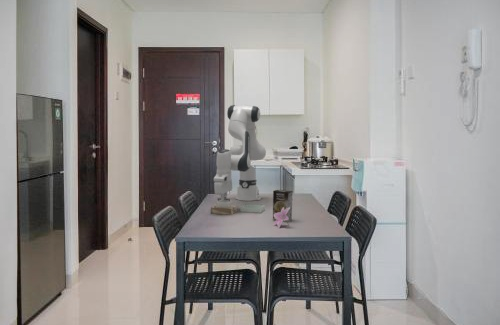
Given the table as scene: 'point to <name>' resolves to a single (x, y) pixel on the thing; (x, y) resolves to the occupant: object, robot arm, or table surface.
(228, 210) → the bay
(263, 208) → the tray
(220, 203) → the white block
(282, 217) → the lily
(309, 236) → the table surface
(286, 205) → the coffee box
